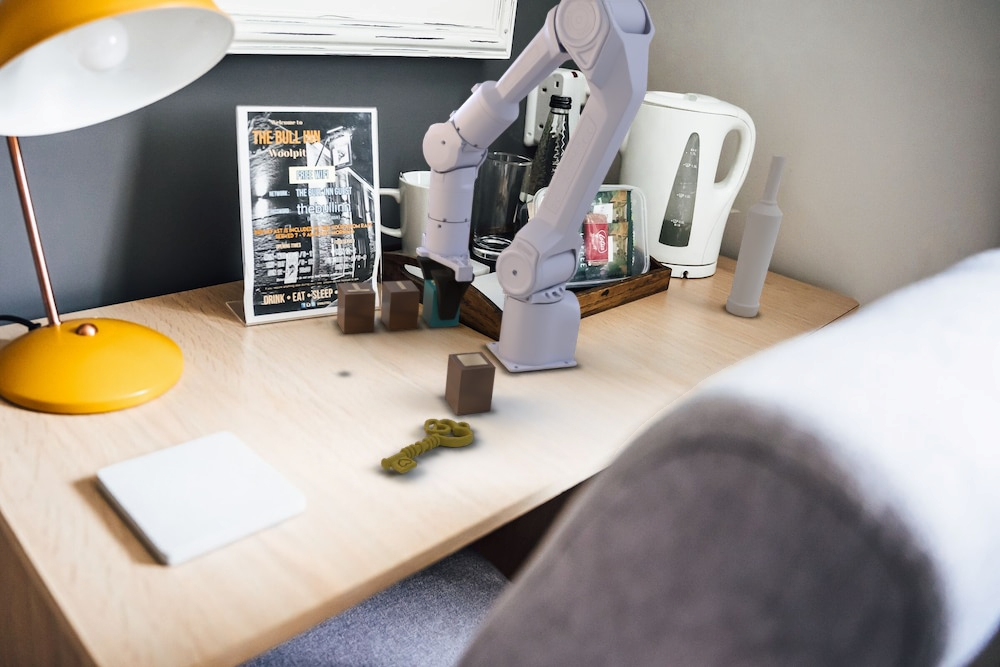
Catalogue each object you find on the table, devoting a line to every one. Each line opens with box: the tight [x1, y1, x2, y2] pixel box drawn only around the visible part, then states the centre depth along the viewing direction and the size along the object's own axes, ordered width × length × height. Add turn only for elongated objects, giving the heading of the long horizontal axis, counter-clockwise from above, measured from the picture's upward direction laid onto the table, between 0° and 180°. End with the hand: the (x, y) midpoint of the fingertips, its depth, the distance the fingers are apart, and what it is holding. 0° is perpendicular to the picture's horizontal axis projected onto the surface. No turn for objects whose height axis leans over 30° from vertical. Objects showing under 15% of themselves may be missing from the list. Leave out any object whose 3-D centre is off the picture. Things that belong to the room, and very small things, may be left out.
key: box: [380, 418, 474, 474], centre depth 77 cm, size 12×1×5 cm
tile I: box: [380, 280, 421, 332], centre depth 103 cm, size 4×4×6 cm
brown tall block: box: [444, 351, 496, 416], centre depth 85 cm, size 4×4×6 cm
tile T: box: [336, 281, 377, 335], centre depth 101 cm, size 4×4×6 cm
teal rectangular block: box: [421, 280, 461, 329], centre depth 106 cm, size 4×4×6 cm
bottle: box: [725, 154, 788, 318], centre depth 119 cm, size 5×5×25 cm
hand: (441, 312), depth 106 cm, fingers closed on teal rectangular block, 4 cm apart
